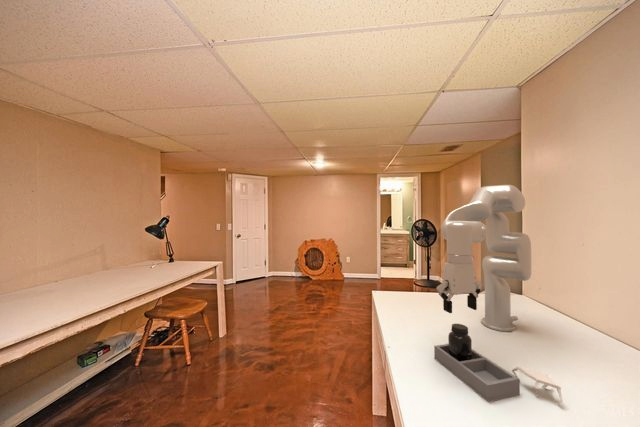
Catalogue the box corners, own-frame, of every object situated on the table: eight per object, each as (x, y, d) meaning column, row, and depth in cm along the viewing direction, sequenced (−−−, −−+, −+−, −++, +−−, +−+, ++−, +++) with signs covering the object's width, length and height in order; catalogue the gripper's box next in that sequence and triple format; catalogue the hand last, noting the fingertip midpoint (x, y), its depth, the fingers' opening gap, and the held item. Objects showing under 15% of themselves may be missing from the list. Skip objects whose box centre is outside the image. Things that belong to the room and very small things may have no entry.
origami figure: (567, 395, 70) (567, 378, 70) (561, 410, 65) (561, 391, 65) (514, 374, 79) (514, 358, 79) (505, 385, 74) (505, 369, 74)
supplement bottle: (475, 369, 80) (475, 332, 80) (452, 367, 81) (451, 330, 81) (467, 357, 87) (467, 322, 87) (445, 355, 88) (445, 321, 88)
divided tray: (460, 354, 91) (460, 341, 91) (519, 395, 70) (519, 378, 70) (434, 358, 88) (434, 345, 88) (487, 402, 68) (487, 385, 68)
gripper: (471, 255, 90) (472, 303, 90) (429, 258, 86) (430, 308, 86) (490, 259, 83) (490, 311, 83) (445, 263, 78) (446, 317, 79)
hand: (460, 310), depth 84 cm, fingers open, 9 cm apart
